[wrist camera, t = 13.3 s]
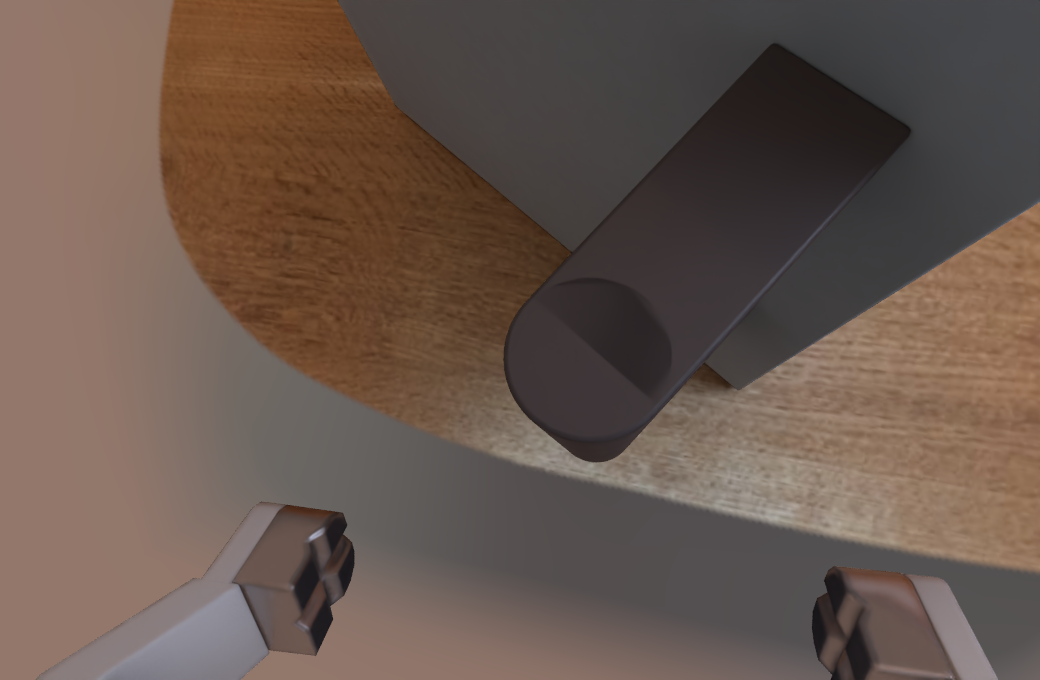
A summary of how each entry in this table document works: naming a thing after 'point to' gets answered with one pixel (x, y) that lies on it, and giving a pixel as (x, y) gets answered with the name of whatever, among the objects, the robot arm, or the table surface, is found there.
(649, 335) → the cabinet door
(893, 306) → the table surface
